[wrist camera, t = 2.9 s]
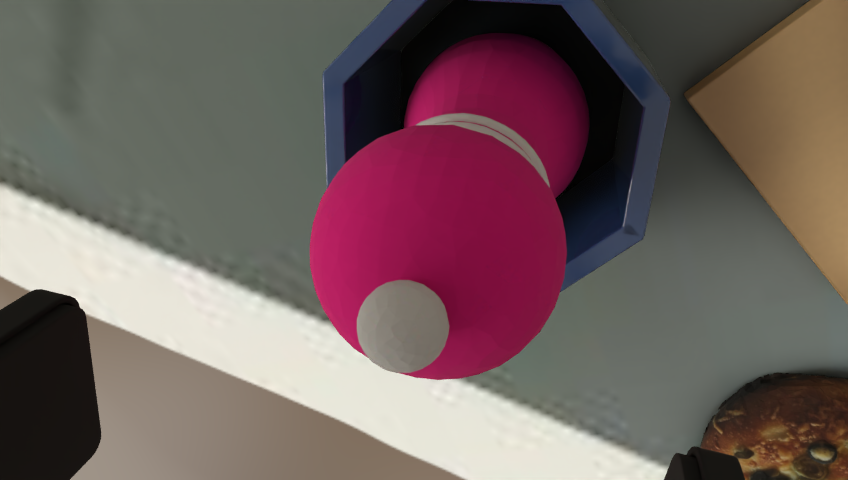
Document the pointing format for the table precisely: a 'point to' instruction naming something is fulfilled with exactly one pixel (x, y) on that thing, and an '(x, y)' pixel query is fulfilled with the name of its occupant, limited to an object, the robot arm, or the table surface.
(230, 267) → the table surface
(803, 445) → the bread roll
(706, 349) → the table surface
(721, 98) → the oak board
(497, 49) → the pepper mill
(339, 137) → the utensil crock
